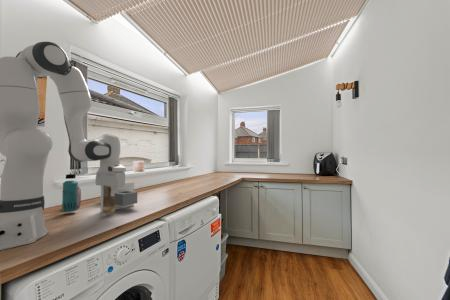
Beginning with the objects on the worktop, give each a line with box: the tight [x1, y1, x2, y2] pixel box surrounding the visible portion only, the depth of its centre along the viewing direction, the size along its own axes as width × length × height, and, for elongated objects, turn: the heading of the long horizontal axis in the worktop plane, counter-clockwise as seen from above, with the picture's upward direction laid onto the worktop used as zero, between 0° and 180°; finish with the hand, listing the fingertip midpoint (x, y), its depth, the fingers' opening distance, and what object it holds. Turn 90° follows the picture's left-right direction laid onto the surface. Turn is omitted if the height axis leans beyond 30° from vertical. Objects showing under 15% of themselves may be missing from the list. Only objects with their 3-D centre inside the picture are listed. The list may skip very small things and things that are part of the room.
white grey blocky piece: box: [100, 181, 138, 213], centre depth 116 cm, size 18×12×14 cm, turn 148°
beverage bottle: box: [61, 173, 79, 213], centre depth 108 cm, size 6×7×20 cm
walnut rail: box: [102, 185, 116, 214], centre depth 105 cm, size 4×4×16 cm
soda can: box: [77, 185, 82, 209], centre depth 119 cm, size 7×7×12 cm
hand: (109, 195), depth 105 cm, fingers closed on walnut rail, 4 cm apart
